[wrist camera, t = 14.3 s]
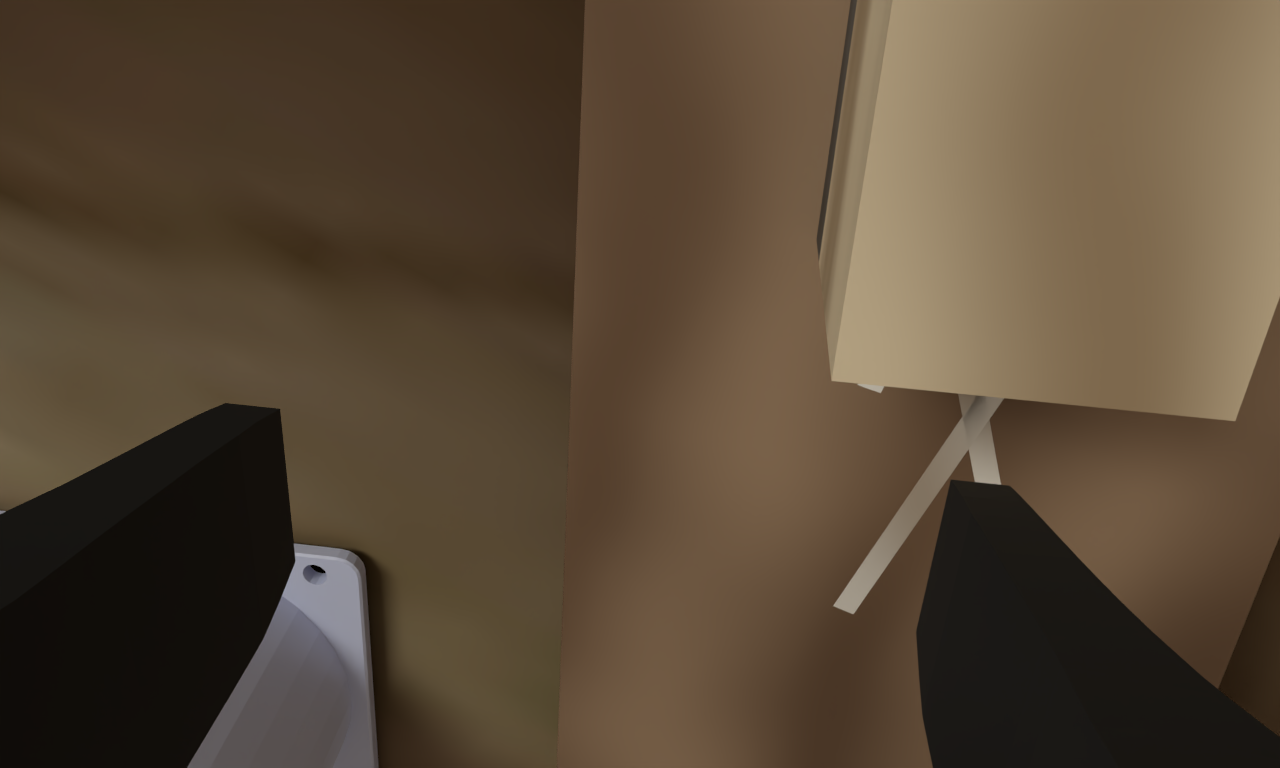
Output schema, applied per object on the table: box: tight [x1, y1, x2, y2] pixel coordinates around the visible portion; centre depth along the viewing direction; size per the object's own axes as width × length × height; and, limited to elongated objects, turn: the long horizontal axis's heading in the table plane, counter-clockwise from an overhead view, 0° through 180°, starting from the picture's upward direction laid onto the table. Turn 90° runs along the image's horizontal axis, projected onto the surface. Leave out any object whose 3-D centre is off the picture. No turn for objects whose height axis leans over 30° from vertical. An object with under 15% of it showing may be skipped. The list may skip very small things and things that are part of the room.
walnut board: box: [557, 0, 1280, 768], centre depth 21 cm, size 13×26×2 cm, turn 177°
